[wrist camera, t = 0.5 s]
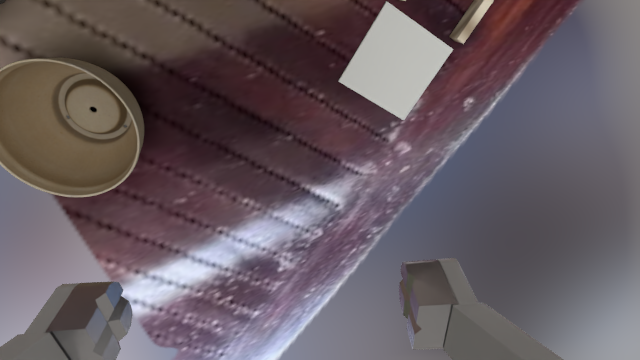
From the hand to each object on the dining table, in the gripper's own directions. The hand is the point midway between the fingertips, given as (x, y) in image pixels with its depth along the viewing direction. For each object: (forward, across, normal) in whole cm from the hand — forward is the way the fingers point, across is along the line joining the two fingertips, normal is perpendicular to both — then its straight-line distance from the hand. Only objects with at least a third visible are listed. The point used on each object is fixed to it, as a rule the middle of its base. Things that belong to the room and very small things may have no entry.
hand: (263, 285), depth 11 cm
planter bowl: (+42, +27, +9) cm, 51 cm away
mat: (+46, -14, +7) cm, 49 cm away
